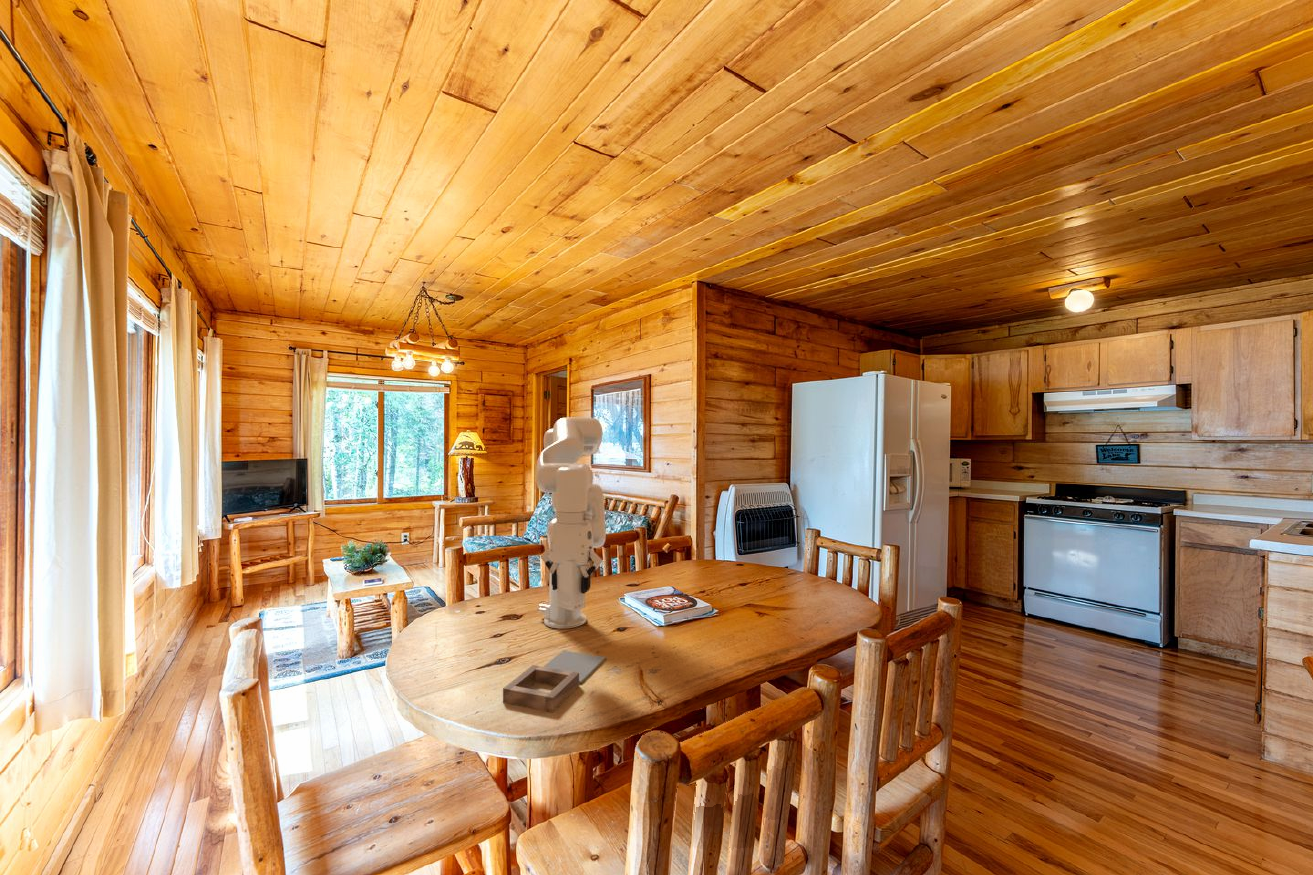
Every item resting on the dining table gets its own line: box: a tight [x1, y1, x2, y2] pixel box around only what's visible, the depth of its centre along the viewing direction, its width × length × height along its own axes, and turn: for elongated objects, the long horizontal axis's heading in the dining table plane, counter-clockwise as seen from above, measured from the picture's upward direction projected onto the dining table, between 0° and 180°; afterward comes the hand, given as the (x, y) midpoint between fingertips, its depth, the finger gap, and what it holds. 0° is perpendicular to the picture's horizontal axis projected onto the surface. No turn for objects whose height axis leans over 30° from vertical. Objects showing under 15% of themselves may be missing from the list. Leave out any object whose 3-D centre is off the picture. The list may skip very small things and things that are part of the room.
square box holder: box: [502, 664, 580, 713], centre depth 119 cm, size 12×12×3 cm
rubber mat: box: [542, 649, 607, 685], centre depth 133 cm, size 12×14×1 cm
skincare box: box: [557, 560, 586, 611], centre depth 132 cm, size 6×4×12 cm
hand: (570, 589), depth 132 cm, fingers closed on skincare box, 7 cm apart
